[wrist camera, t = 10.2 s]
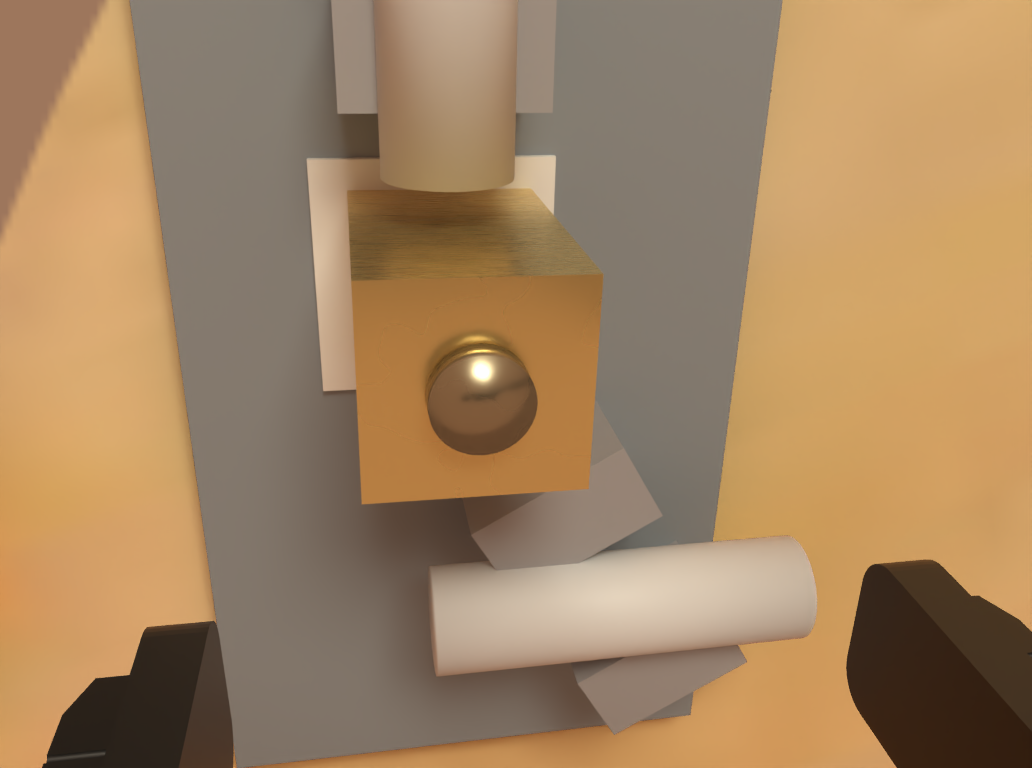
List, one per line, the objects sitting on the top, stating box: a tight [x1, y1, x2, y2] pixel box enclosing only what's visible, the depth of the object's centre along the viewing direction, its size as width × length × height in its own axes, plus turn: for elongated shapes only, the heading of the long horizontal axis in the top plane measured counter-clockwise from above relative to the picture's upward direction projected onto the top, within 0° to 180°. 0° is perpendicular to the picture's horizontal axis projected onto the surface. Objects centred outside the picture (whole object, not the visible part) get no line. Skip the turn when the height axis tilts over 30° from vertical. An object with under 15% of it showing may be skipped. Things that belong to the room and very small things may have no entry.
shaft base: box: [130, 0, 817, 768], centre depth 23 cm, size 16×30×6 cm, turn 179°
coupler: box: [347, 188, 604, 504], centre depth 20 cm, size 4×4×8 cm
